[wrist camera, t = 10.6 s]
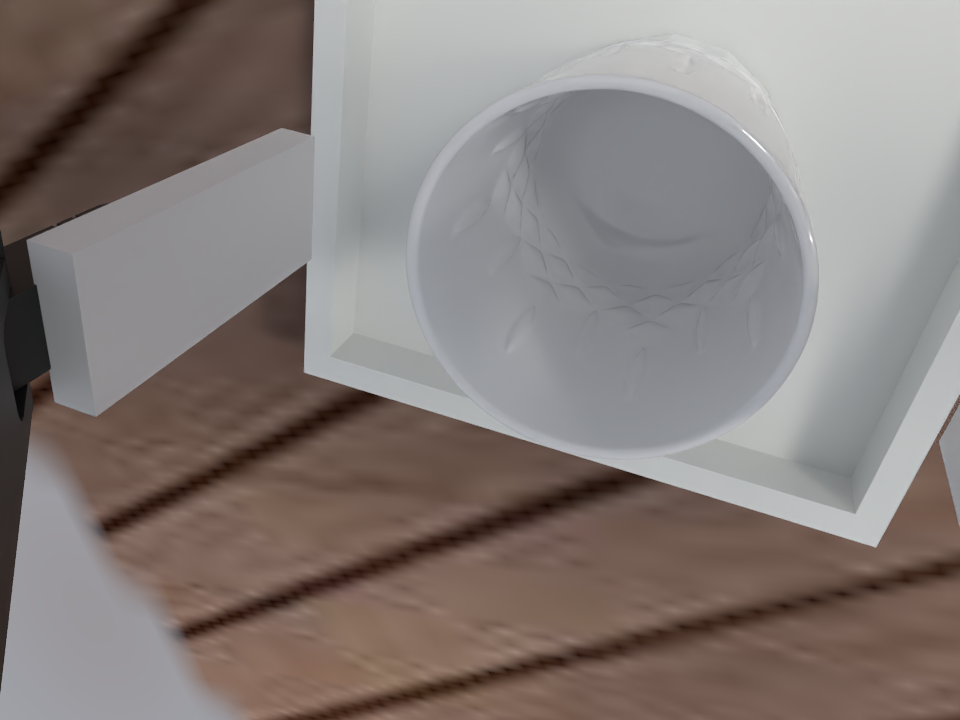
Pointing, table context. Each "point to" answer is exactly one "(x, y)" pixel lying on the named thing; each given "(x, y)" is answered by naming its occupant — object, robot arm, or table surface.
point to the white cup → (618, 252)
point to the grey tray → (825, 184)
